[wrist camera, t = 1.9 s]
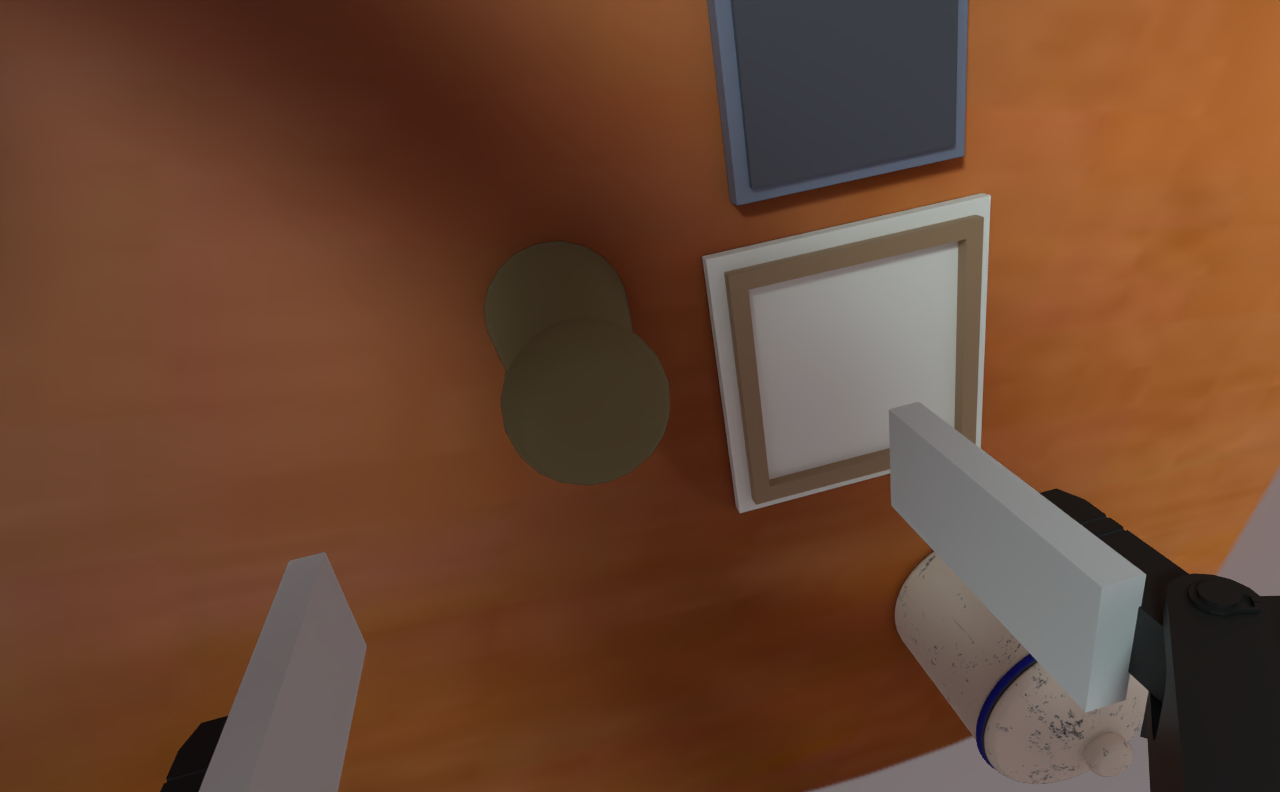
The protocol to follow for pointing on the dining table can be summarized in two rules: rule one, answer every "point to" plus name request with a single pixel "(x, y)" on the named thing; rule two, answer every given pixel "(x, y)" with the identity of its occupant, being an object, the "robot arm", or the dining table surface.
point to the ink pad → (836, 89)
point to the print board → (847, 344)
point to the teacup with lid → (1008, 686)
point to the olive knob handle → (574, 366)
